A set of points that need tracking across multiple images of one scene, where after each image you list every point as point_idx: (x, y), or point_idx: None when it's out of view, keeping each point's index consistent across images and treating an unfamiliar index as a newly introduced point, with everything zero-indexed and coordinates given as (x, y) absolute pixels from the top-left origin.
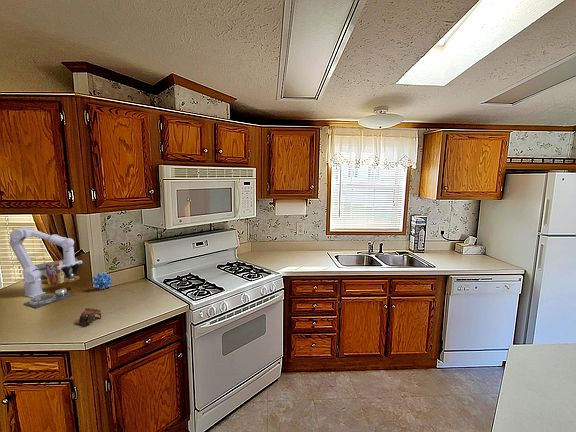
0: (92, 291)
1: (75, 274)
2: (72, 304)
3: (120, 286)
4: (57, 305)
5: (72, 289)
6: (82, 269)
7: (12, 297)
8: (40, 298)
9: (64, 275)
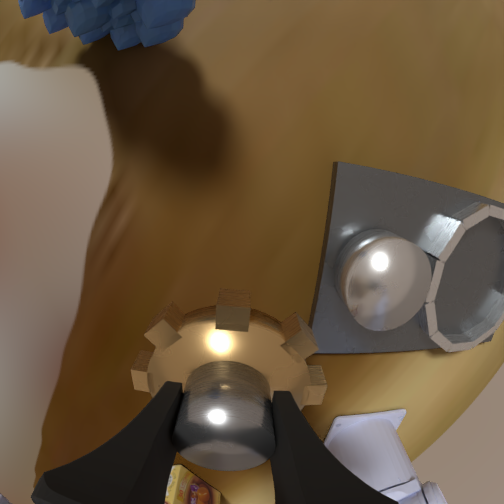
0: (195, 79)
1: (172, 395)
2: (440, 27)
3: None
4: (482, 116)
5: None
6: None
7: None
8: (446, 333)
9: None
